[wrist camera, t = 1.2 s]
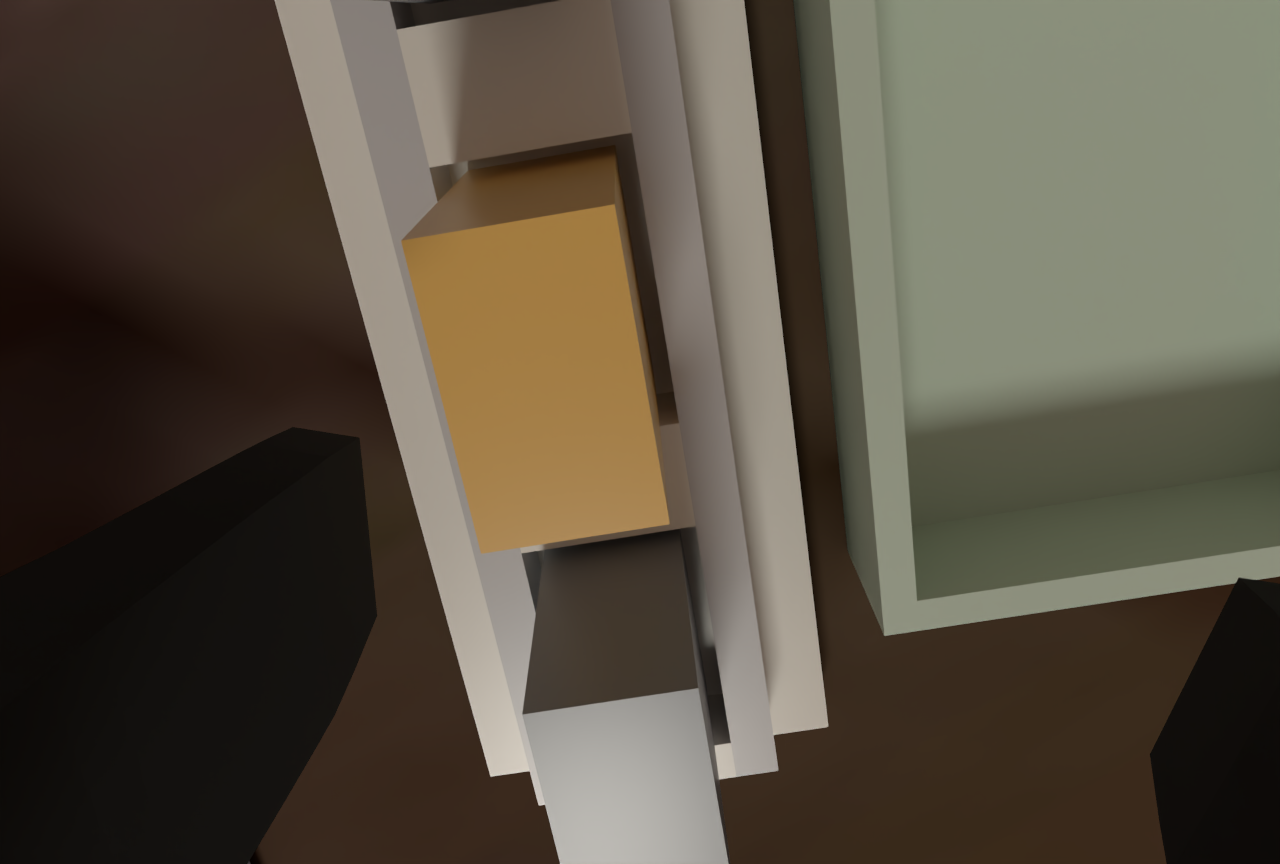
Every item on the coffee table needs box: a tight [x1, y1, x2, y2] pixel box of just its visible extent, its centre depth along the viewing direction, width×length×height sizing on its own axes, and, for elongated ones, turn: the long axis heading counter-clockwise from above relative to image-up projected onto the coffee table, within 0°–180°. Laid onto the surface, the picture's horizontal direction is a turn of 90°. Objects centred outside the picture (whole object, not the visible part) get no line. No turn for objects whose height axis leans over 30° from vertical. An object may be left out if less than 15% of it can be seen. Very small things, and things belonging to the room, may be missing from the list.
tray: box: [793, 0, 1280, 636], centre depth 16 cm, size 9×13×3 cm
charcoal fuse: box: [522, 529, 730, 864], centre depth 17 cm, size 2×4×6 cm, turn 9°
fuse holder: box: [275, 0, 828, 805], centre depth 17 cm, size 7×20×2 cm, turn 9°
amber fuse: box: [401, 145, 670, 554], centre depth 15 cm, size 2×4×6 cm, turn 9°
